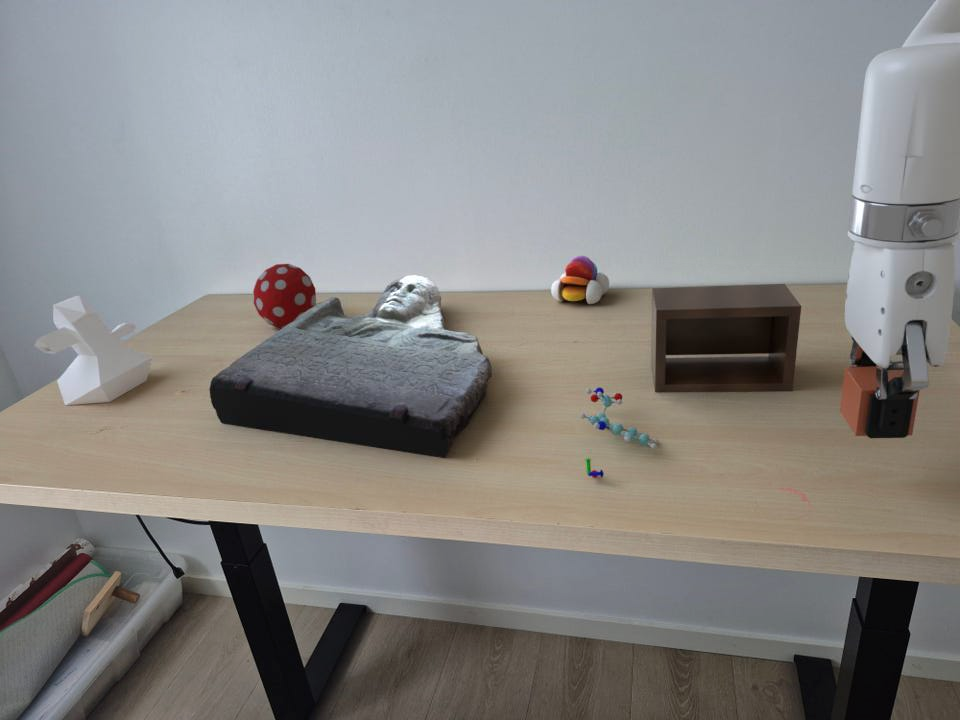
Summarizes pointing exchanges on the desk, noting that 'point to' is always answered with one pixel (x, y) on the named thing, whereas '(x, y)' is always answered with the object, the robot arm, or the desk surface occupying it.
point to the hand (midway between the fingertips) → (875, 418)
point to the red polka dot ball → (283, 294)
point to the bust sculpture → (361, 375)
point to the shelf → (724, 338)
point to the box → (864, 396)
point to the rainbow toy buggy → (580, 282)
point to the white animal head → (93, 355)
